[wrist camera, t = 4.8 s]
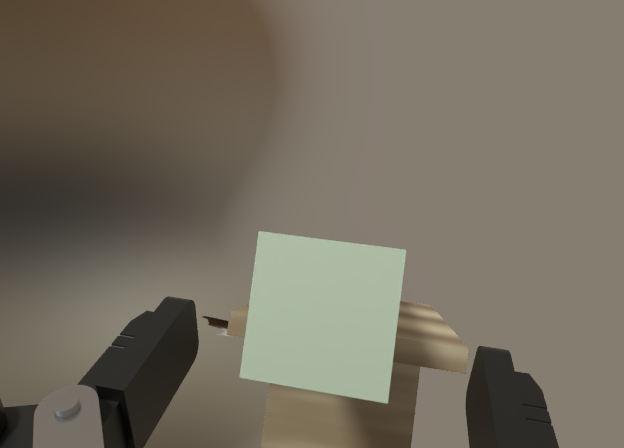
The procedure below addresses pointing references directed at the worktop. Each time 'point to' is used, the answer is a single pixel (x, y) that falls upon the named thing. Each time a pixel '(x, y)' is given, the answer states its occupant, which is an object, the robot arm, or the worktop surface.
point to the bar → (323, 315)
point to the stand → (358, 412)
